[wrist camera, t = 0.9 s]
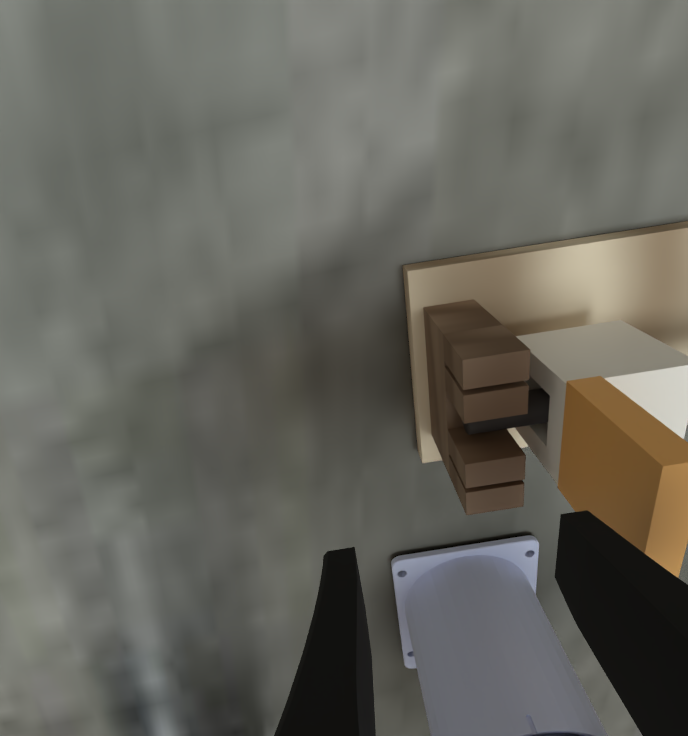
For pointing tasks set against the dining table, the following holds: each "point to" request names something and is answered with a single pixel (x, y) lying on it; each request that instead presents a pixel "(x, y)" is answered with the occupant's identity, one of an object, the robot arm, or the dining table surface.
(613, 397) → the sleeve
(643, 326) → the board
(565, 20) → the dining table surface
